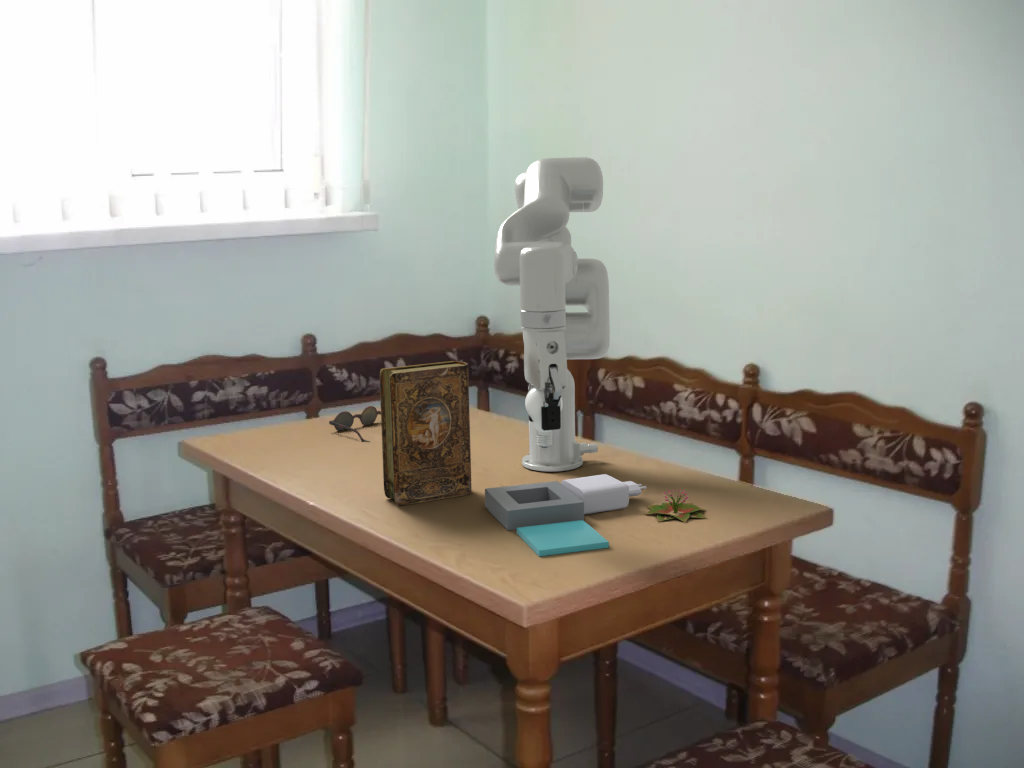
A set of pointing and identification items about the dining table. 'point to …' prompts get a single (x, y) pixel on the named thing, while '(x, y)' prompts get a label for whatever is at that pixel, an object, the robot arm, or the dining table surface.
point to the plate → (562, 538)
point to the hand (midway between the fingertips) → (544, 424)
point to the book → (425, 432)
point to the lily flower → (676, 509)
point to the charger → (602, 492)
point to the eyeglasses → (346, 419)
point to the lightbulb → (539, 415)
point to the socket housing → (533, 504)
